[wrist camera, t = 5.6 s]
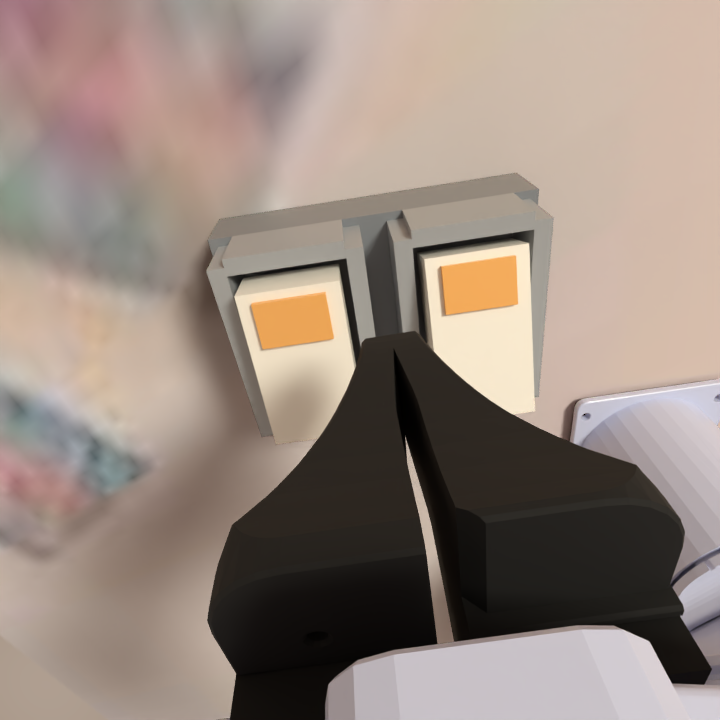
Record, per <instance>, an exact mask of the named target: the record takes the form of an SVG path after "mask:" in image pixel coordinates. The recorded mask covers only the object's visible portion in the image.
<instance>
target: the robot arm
mask: <svg viewBox="0 0 720 720" xmlns="http://www.w3.org/2000/svg"><path fill="white" fill-rule="evenodd" d="M585 413H587V414H585ZM583 414H585V415H584V416H582V415H583ZM719 420H720V379H715V380H709V381H702V382H695V383H688V384H681V385H674V386H667V387H660V388H653V389H646V390H639V391H632V392H625V393H618V394H611V395H604V396H597V397H590V398H584V399H581V400H580V401H578V402H577V403H576V405H575V408H574V416H573V423H572V430H571V438H570V442H569V441H567V440H564V439H562V438H559V437H557V436H555V435H552V434H550V433H548V432H546V431H544V430H541V429H539V428H537V427H535V426H534V425H532V424H530V423H528V422H526V421H524V420H522V419H520V418H518V417H516V416H515V415H513V414H511V413H509V412H508V411H506V410H504V409H503V408H501V407H500V406H498V405H497V404H495V403H493V402H492V401H490V400H489V399H488V398H486V397H485V396H483V395H482V394H481V393H479V392H478V391H477V390H476V389H474V388H473V387H472V386H471V385H469V384H468V383H467V382H466V381H464V380H463V379H462V378H461V377H460V376H459V375H458V374H456V373H455V372H454V371H453V370H452V369H451V368H450V367H449V366H448V365H447V364H446V363H445V362H444V361H443V360H442V359H441V358H440V357H439V356H438V355H437V354H436V353H435V352H434V351H433V350H432V349H431V348H430V347H429V345H428V344H427V343H426V342H425V341H424V339H423V338H422V337H421V336H420V334H418V333H417V332H416V331H410V332H404V333H397V334H391V335H385V336H378V337H372V338H366V339H365V340H364V341H363V342H362V343H361V350H360V354H359V358H358V361H357V364H356V367H355V370H354V373H353V375H352V378H351V380H350V383H349V385H348V387H347V390H346V392H345V394H344V396H343V398H342V400H341V402H340V403H339V405H338V407H337V409H336V411H335V413H334V415H333V416H332V418H331V420H330V421H329V423H328V425H327V426H326V428H325V429H324V431H323V432H322V434H321V435H320V437H319V438H318V440H317V441H316V442H315V444H314V445H313V446H312V448H311V449H310V450H309V451H308V453H307V454H306V455H305V457H304V458H303V459H302V460H301V462H300V463H299V464H298V465H297V466H296V467H295V468H294V469H293V471H292V472H291V473H290V474H289V475H288V476H287V477H286V478H285V479H284V480H283V481H282V482H281V483H280V484H279V485H278V486H277V487H276V488H275V489H274V490H273V491H272V492H271V493H270V494H269V495H268V496H267V497H265V498H264V499H263V500H262V501H261V502H259V503H258V504H257V505H256V506H255V507H254V508H252V509H251V510H250V511H249V512H248V513H246V514H245V515H244V516H243V517H242V518H240V519H239V520H238V521H236V522H235V523H234V524H233V525H232V527H231V530H230V532H229V535H228V538H227V540H226V543H225V546H224V549H223V552H222V555H221V558H220V560H219V563H218V567H217V571H216V575H215V580H214V585H213V590H212V595H211V600H210V606H209V612H208V619H207V621H208V624H209V627H210V630H211V632H212V634H213V636H214V638H215V639H216V641H217V643H218V644H219V646H220V648H221V649H222V651H223V653H224V654H225V656H226V658H227V659H228V661H229V662H230V664H231V666H232V667H233V669H234V671H235V672H236V680H235V687H234V694H233V701H232V709H231V716H230V718H226V719H218V720H720V428H719V427H718V423H719ZM405 436H406V440H407V443H408V446H409V450H410V453H411V456H412V459H413V463H414V466H415V469H416V473H417V476H418V479H419V482H420V486H421V489H422V492H423V496H424V499H425V502H426V505H427V509H428V513H429V517H430V521H431V525H432V530H433V535H434V540H435V545H436V550H437V555H438V560H439V565H440V570H441V575H442V580H443V585H444V591H445V596H446V601H447V606H448V611H449V616H450V622H451V627H452V632H453V637H454V642H450V643H442V644H437V637H436V629H435V621H434V613H433V605H432V597H431V589H430V580H429V572H428V564H427V556H426V550H425V544H424V539H423V533H422V528H421V523H420V518H419V513H418V509H417V505H416V501H415V497H414V492H413V488H412V483H411V479H410V475H409V470H408V465H407V455H406V442H405Z"/></svg>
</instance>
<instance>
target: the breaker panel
mask: <svg viewBox="0 0 720 720" xmlns="http://www.w3.org/2000/svg"><path fill="white" fill-rule="evenodd" d="M538 194H539V189H538V188H537V187H536V186H534V185H533V184H531V183H530V182H529V181H527V180H526V179H525V178H523V177H522V176H520V175H519V174H518V173H513V174H507V175H501V176H494V177H488V178H481V179H475V180H469V181H462V182H456V183H449V184H443V185H437V186H430V187H424V188H417V189H411V190H405V191H398V192H392V193H385V194H379V195H373V196H366V197H360V198H353V199H347V200H341V201H334V202H328V203H321V204H315V205H309V206H302V207H296V208H289V209H283V210H277V211H270V212H264V213H257V214H251V215H245V216H238V217H232V218H225V219H219V221H218V223H217V225H216V226H215V228H214V230H213V232H212V233H211V235H210V237H209V239H208V243H209V246H210V249H211V252H212V255H213V258H212V260H211V262H210V264H209V266H208V268H207V270H206V272H207V275H208V278H209V281H210V284H211V287H212V290H213V293H214V296H215V299H216V302H217V305H218V308H219V311H220V314H221V317H222V320H223V323H224V326H225V329H226V332H227V335H228V338H229V341H230V344H231V347H232V350H233V353H234V356H235V359H236V362H237V365H238V368H239V371H240V374H241V377H242V380H243V383H244V385H245V388H246V391H247V394H248V397H249V400H250V403H251V406H252V409H253V412H254V415H255V418H256V421H257V424H258V427H259V430H260V433H261V436H262V437H265V436H272V435H273V432H272V429H271V425H270V422H269V418H268V415H267V411H266V408H265V404H264V401H263V397H262V393H261V390H260V386H259V383H258V379H257V376H256V372H255V369H254V365H253V362H252V358H251V354H250V351H249V347H248V344H247V340H246V337H245V333H244V330H243V326H242V323H241V319H240V315H239V312H238V308H237V305H236V301H235V298H234V296H235V294H236V292H237V290H238V288H239V286H240V284H241V282H242V280H243V278H247V277H254V276H260V275H267V274H273V273H280V272H286V271H293V270H299V269H306V268H312V267H319V266H326V265H332V264H339V266H340V272H341V278H342V284H343V290H344V296H345V302H346V308H347V314H348V320H349V326H350V332H351V338H352V344H353V350H354V356H355V362H356V364H357V361H358V358H359V354H360V350H361V343H362V342H363V341H364V340H365V339H366V338H372V337H378V336H385V335H391V334H397V333H404V332H410V331H416V332H417V333H418V334H420V336H421V337H422V338H423V339H424V341H425V342H426V343H427V341H426V331H425V322H424V313H423V304H422V294H421V285H420V276H419V267H418V258H417V253H418V252H424V251H431V250H437V249H444V248H451V247H457V246H464V245H470V244H477V243H483V242H490V241H496V240H503V239H509V238H513V239H516V240H520V241H523V242H527V243H529V252H530V281H531V310H532V339H533V368H534V397H539V387H540V375H541V363H542V351H543V339H544V327H545V315H546V303H547V291H548V279H549V267H550V255H551V243H552V231H553V219H554V218H553V217H552V216H551V215H550V214H549V213H547V212H546V211H545V210H544V209H542V208H541V207H540V206H539V205H538Z"/></svg>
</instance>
